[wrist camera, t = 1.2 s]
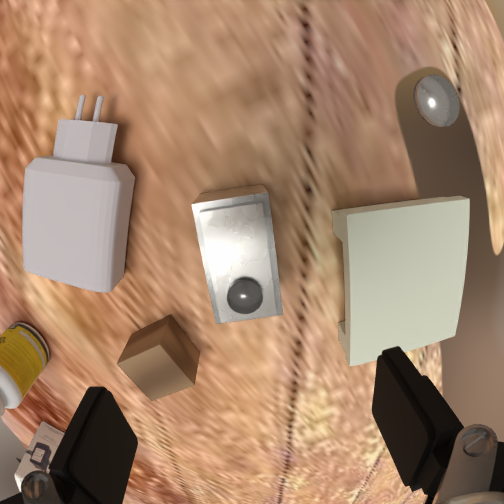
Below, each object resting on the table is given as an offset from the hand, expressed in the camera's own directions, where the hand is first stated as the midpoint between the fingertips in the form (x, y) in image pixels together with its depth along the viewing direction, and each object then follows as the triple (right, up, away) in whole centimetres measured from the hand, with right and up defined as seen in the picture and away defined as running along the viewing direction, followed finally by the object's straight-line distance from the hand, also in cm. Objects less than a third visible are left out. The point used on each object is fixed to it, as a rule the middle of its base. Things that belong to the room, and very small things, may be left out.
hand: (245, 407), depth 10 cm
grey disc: (+17, +19, +13) cm, 29 cm away
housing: (-1, +6, +17) cm, 18 cm away
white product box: (-31, -25, +26) cm, 47 cm away
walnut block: (-8, -4, +20) cm, 22 cm away
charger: (-14, +11, +15) cm, 23 cm away
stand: (+14, +3, +18) cm, 23 cm away
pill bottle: (-26, -6, +20) cm, 33 cm away
